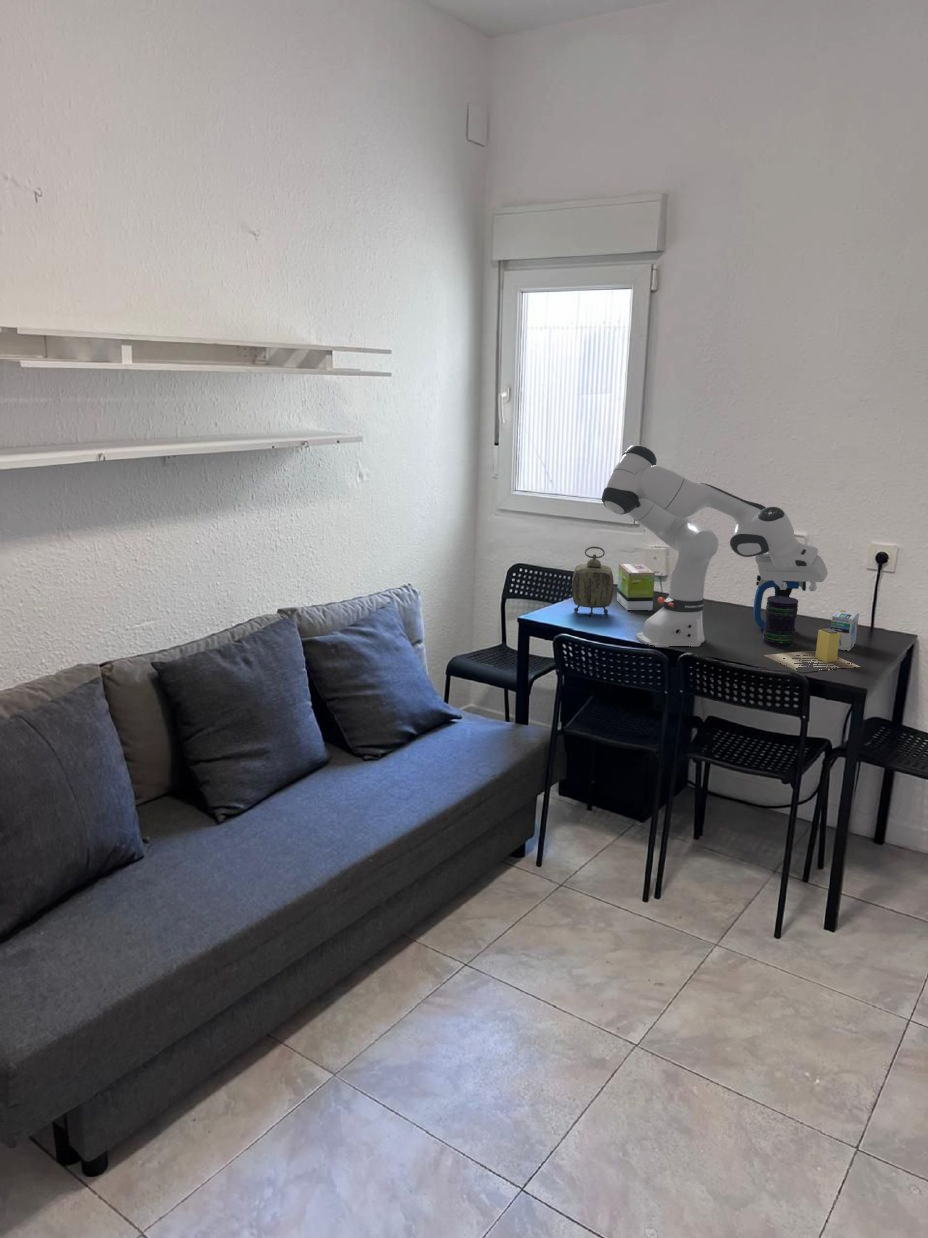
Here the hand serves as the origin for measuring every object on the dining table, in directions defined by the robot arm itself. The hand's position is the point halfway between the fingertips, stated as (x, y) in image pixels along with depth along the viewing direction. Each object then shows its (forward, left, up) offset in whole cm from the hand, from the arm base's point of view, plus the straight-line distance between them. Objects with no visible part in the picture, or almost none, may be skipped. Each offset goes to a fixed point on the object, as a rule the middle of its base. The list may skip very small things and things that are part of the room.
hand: (798, 589), depth 285 cm
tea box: (-14, +72, -23) cm, 77 cm away
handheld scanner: (+17, +29, -23) cm, 41 cm away
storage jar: (+8, +16, -23) cm, 29 cm away
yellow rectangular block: (+11, -3, -23) cm, 25 cm away
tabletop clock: (-36, +64, -23) cm, 77 cm away
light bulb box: (+27, +8, -23) cm, 36 cm away
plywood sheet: (+6, -3, -23) cm, 24 cm away
